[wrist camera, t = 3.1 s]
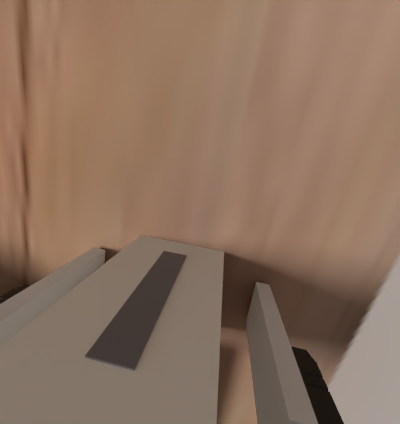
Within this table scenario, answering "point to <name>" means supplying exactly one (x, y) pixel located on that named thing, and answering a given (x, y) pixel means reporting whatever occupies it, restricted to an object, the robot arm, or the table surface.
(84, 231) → the table surface
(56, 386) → the strip block
